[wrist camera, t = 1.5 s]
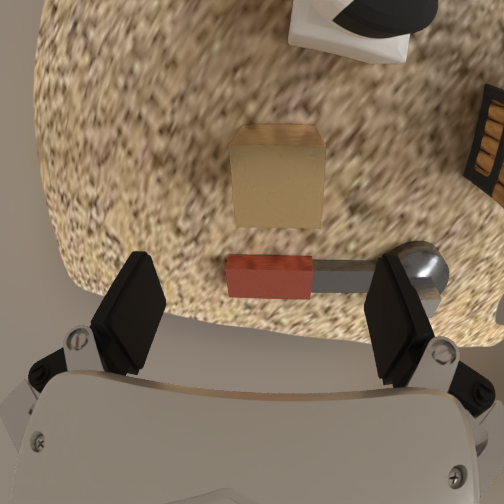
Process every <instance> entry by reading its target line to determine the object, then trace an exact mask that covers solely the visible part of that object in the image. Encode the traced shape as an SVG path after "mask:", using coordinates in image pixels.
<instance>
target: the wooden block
mask: <svg viewBox="0 0 504 504" xmlns="http://www.w3.org/2000/svg"><path fill="white" fill-rule="evenodd" d="M229 157H230V169H231V180H232V191H233V202H234V212H235V223H236V227H260V228H313V229H320V227H321V217H322V205H323V193H324V179H325V163H326V145H325V143H324V141H323V139H322V138H321V136H320V134H319V132H318V131H317V129H316V127H315V126H314V125H301V124H252V125H243V126H242V127H241V129H240V130H239V131H238V133H237V134H236V136H235V137H234V139H233V140H232V141H231V143H230V144H229Z"/></svg>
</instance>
